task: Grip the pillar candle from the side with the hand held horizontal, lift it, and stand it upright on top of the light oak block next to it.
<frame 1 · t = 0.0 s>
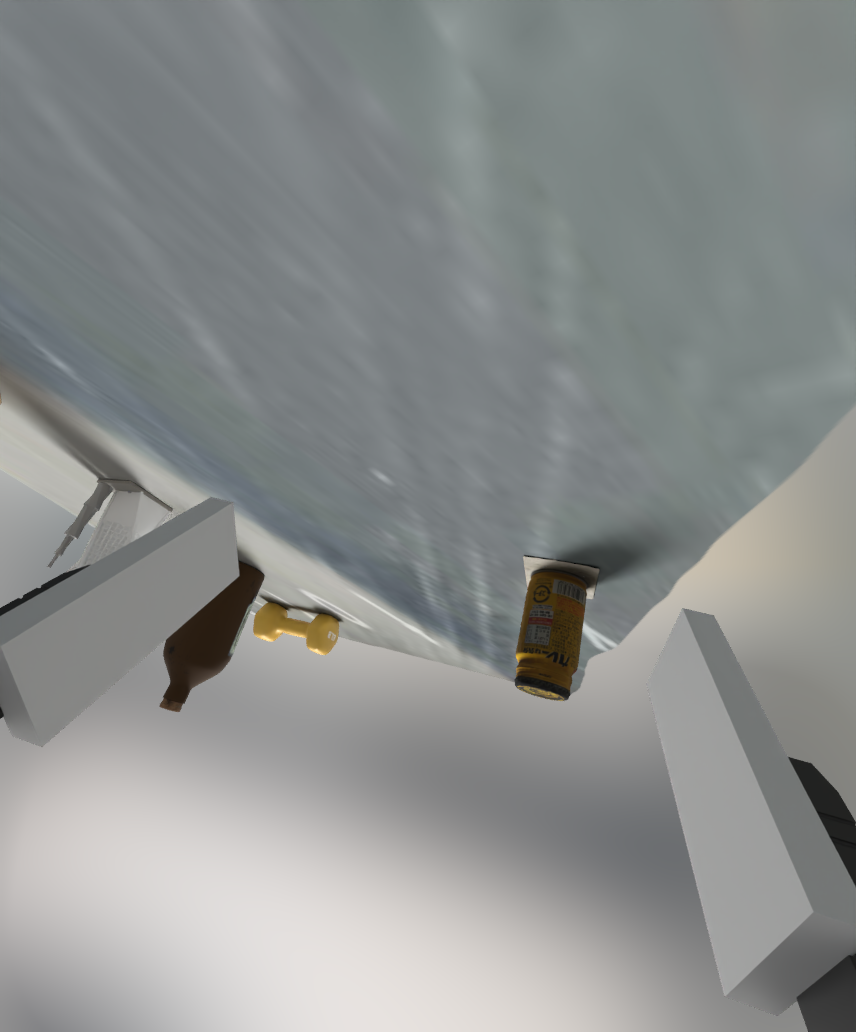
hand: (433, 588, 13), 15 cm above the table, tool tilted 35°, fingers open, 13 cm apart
olive oil: (241, 566, 83), on the table
condiment: (560, 575, 48), on the table
dumbbell 2: (303, 609, 103), on the table
skyscraper: (144, 495, 62), on the table
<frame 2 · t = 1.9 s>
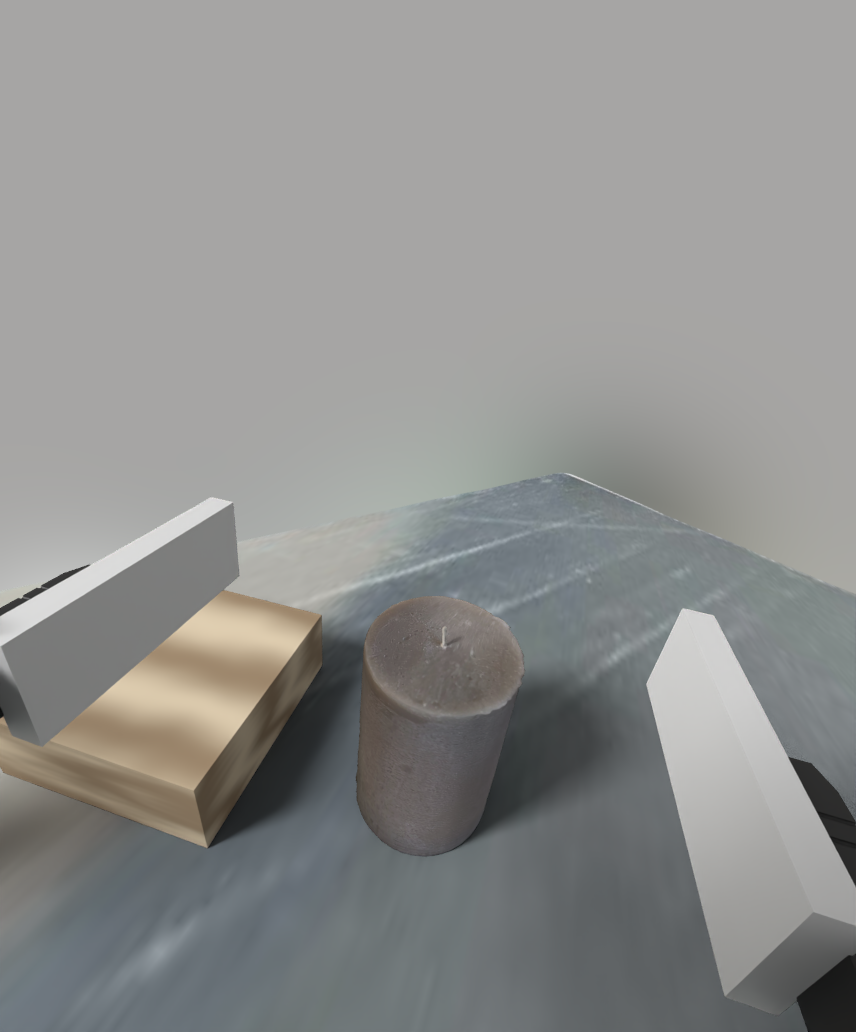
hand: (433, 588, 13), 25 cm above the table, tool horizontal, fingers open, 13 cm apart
oak block: (187, 710, 36), on the table
pillar candle: (423, 786, 33), on the table
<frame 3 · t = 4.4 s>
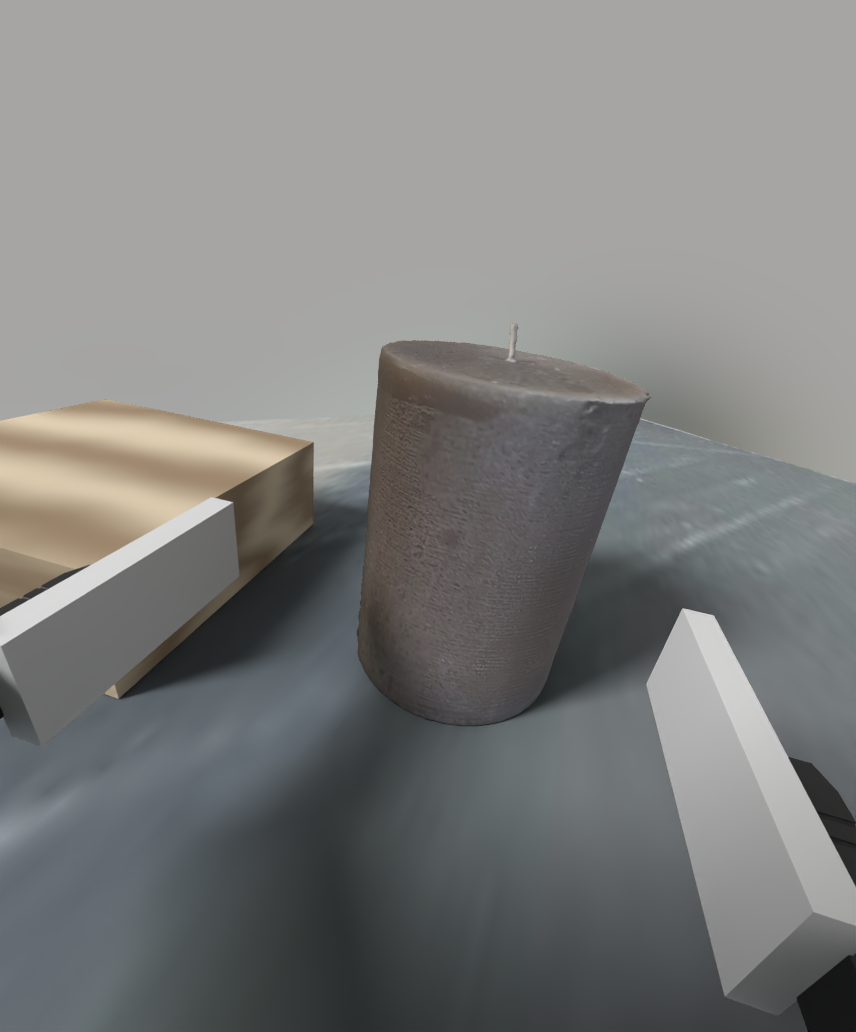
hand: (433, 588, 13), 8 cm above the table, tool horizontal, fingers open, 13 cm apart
oak block: (120, 552, 26), on the table
pillar candle: (454, 648, 23), on the table
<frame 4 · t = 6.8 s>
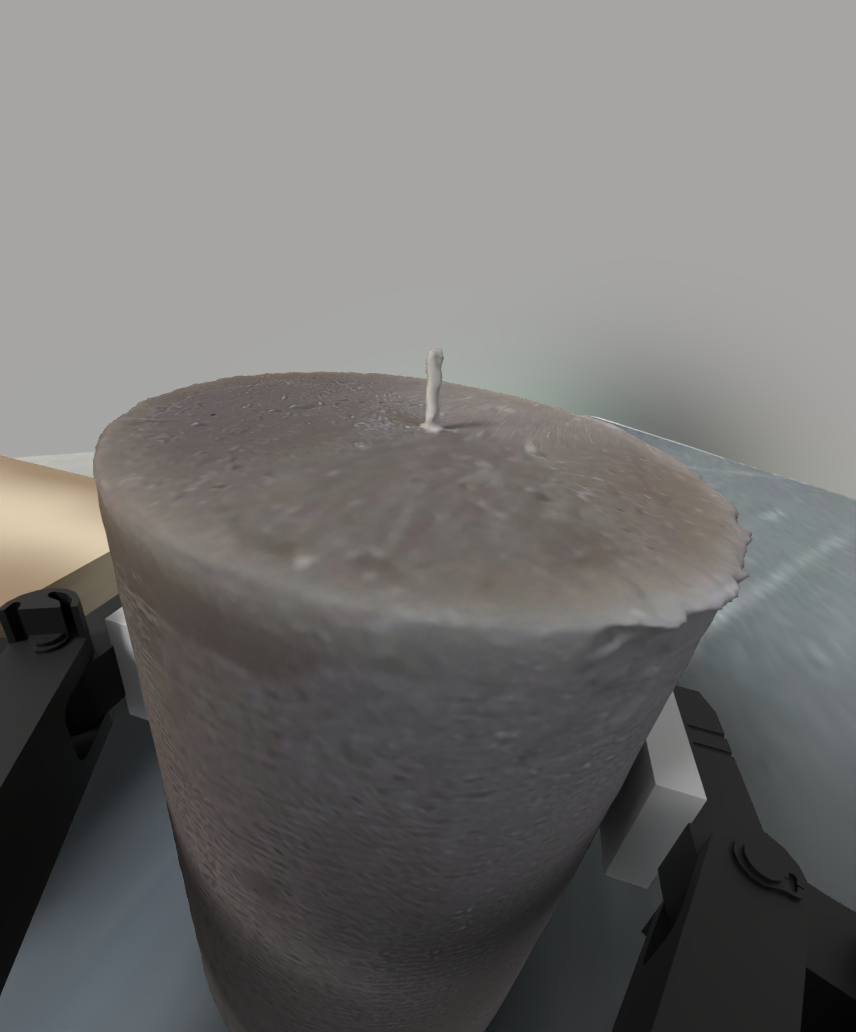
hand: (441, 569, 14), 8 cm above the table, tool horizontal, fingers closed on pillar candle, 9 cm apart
pillar candle: (376, 863, 14), on the table, touching gripper
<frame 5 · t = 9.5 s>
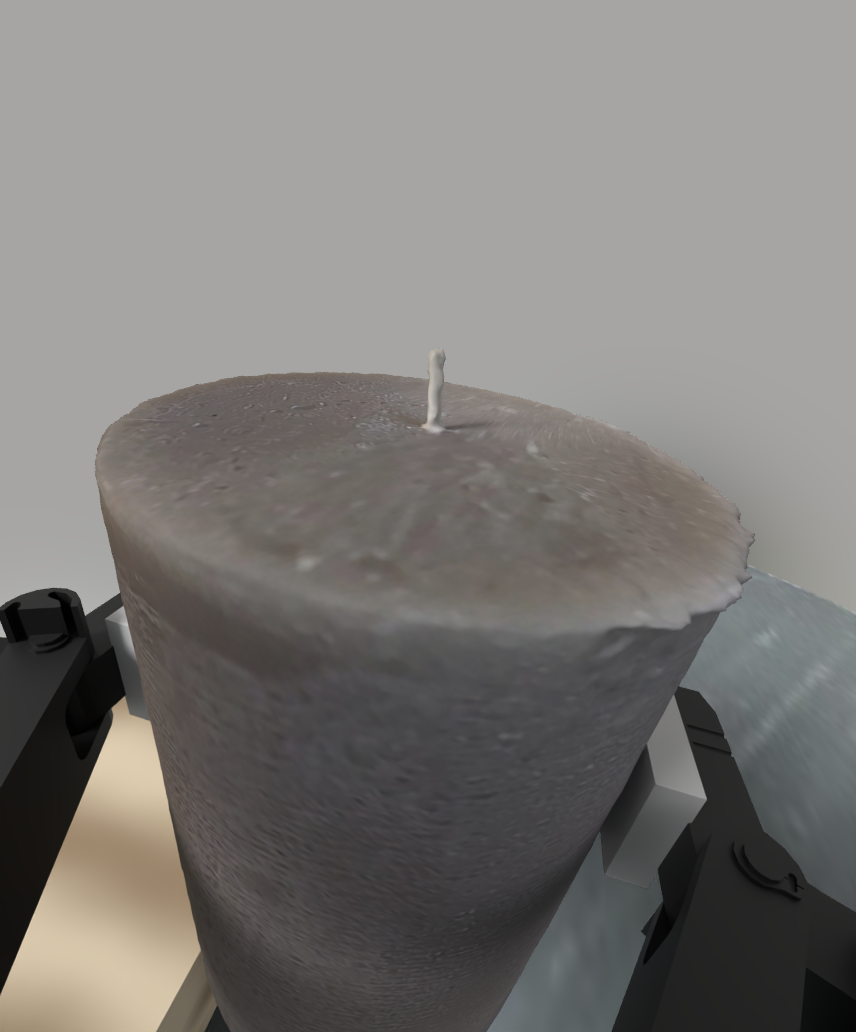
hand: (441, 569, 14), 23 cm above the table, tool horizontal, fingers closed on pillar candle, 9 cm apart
oak block: (103, 901, 24), on the table
pillar candle: (377, 863, 14), point 14 cm above the table, touching gripper
when the fingers open (15 cm above the table, at t = 12.6 s): pillar candle drops 1 cm, resting on oak block.
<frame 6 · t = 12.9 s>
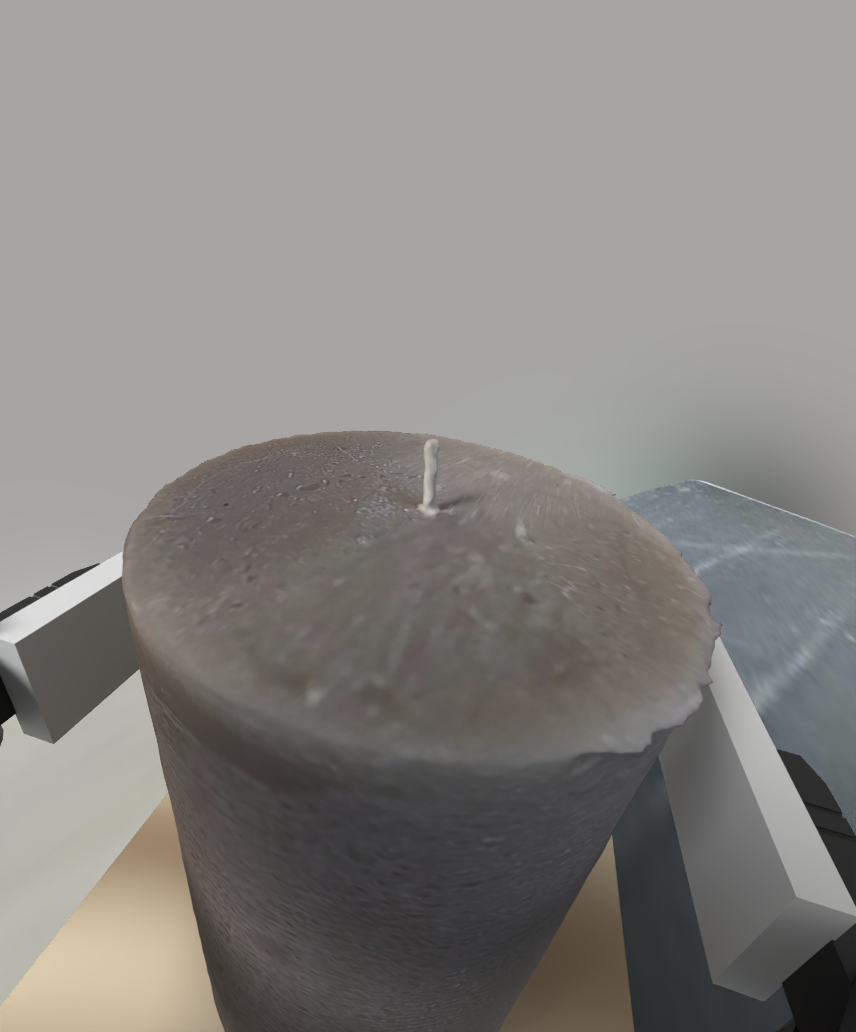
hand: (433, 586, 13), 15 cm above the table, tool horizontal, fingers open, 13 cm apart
oak block: (362, 963, 17), on the table
pillar candle: (377, 891, 14), point 6 cm above the table, touching oak block
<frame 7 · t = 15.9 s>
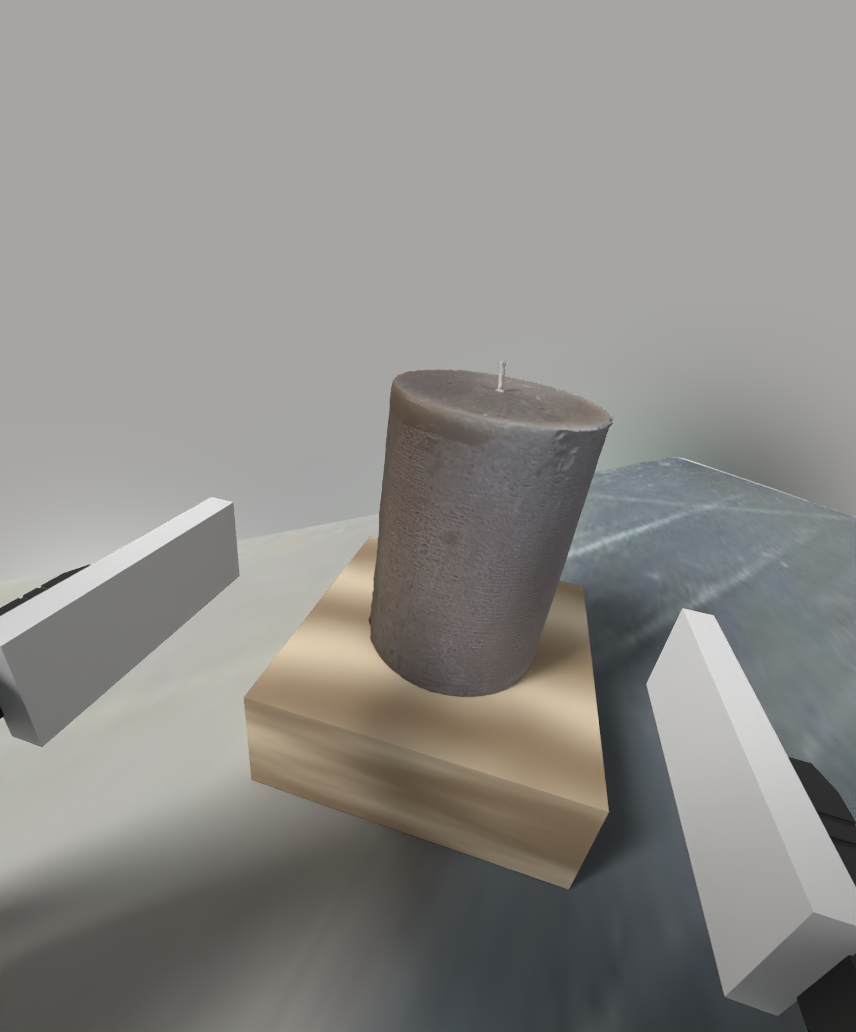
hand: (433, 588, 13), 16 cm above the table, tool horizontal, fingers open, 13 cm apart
oak block: (437, 701, 29), on the table
pillar candle: (453, 634, 26), point 6 cm above the table, touching oak block
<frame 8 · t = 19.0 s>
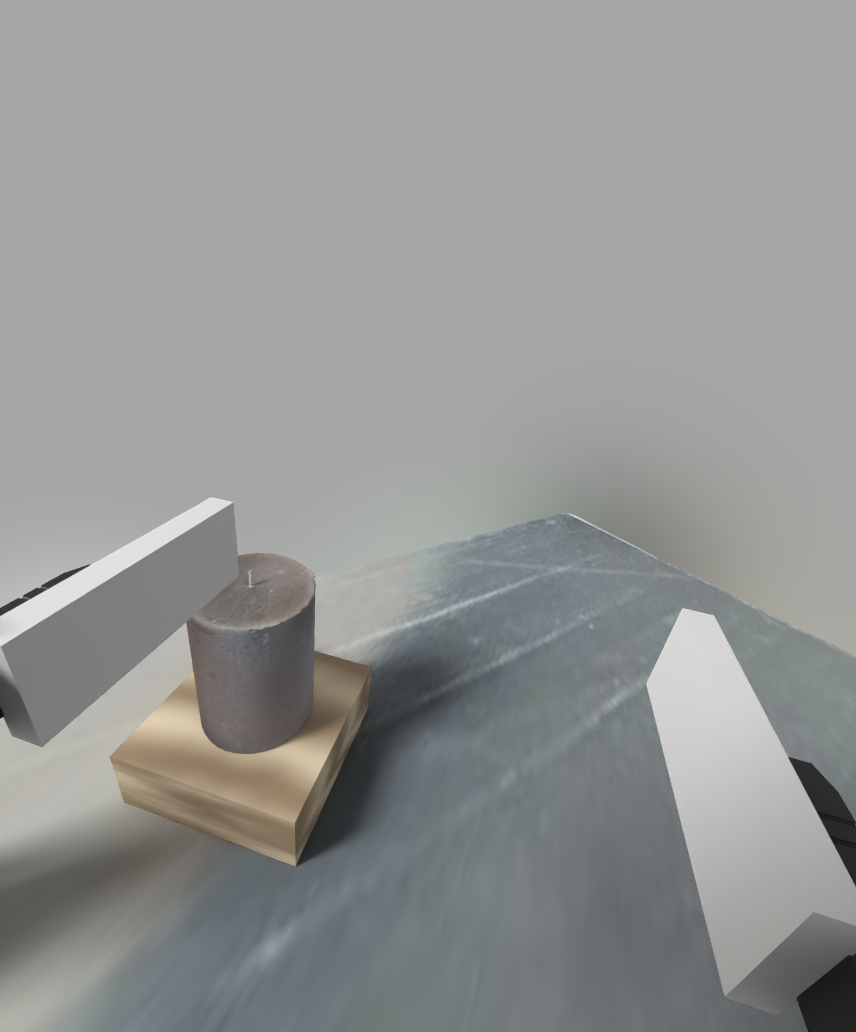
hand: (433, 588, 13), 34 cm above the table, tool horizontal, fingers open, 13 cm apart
oak block: (262, 748, 44), on the table
pillar candle: (260, 708, 41), point 6 cm above the table, touching oak block
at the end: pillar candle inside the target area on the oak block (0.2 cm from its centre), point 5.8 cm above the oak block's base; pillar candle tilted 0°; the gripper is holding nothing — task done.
